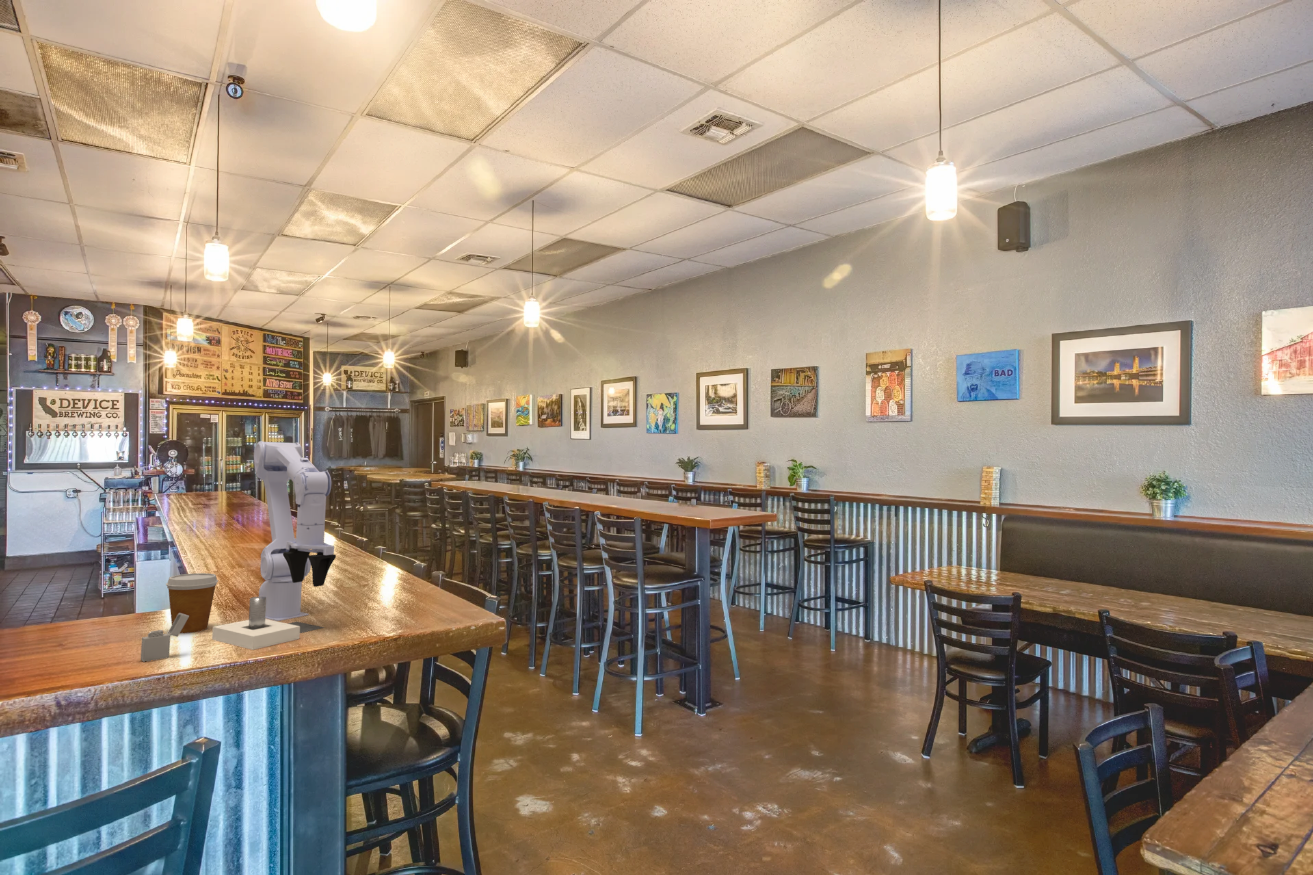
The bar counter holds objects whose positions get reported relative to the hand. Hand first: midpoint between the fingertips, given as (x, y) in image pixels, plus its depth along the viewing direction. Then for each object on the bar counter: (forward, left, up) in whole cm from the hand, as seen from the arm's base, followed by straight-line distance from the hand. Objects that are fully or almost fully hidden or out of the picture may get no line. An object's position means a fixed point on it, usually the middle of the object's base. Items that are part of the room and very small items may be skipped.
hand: (307, 584), depth 153 cm
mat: (-1, -2, -10) cm, 10 cm away
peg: (+1, -12, -10) cm, 16 cm away
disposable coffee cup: (-18, -15, -10) cm, 26 cm away
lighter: (-2, -28, -10) cm, 30 cm away
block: (+1, -12, -10) cm, 16 cm away
